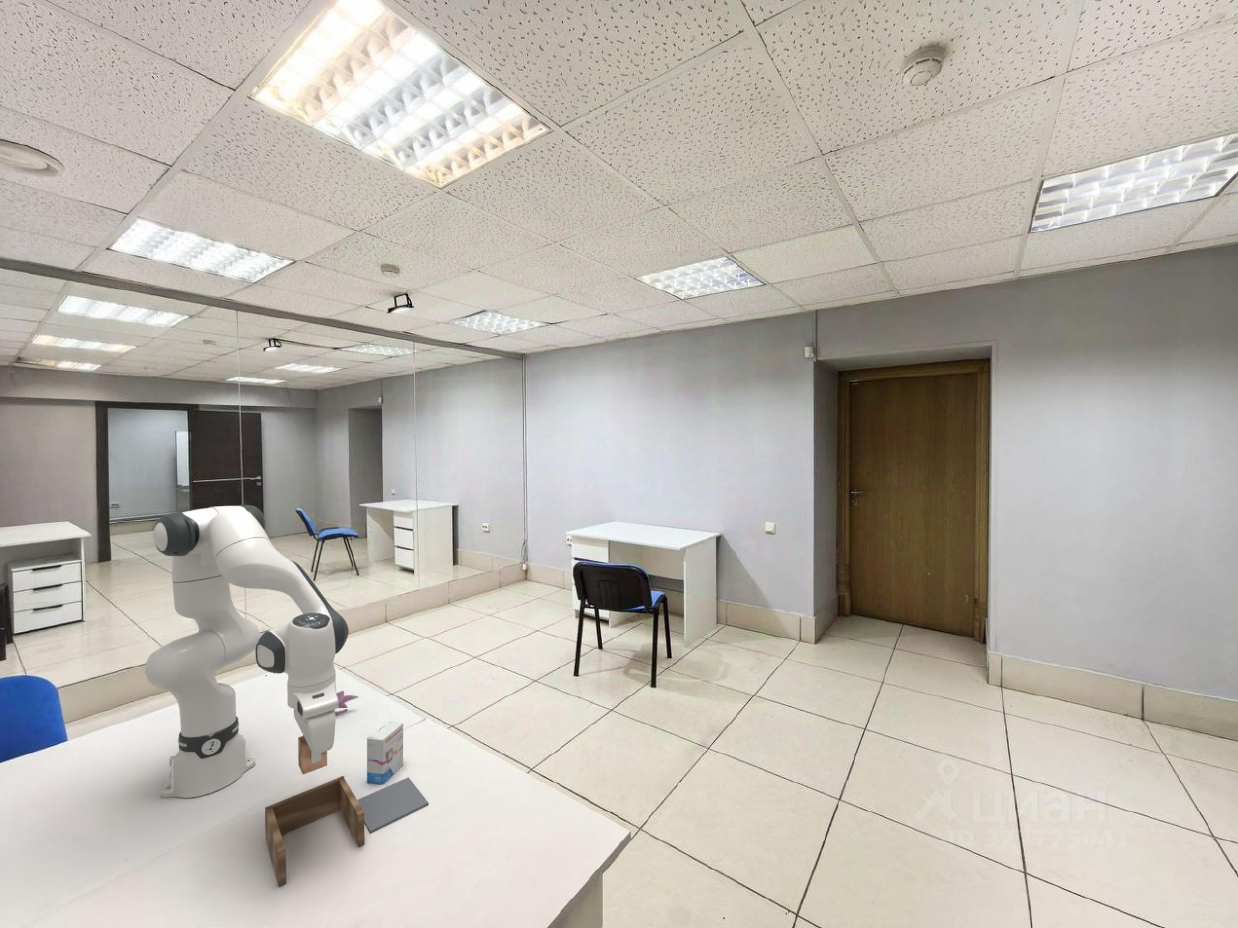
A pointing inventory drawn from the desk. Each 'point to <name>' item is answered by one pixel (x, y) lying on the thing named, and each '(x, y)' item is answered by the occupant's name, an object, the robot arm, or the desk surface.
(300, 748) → the terracotta block
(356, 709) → the desk surface
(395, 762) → the ink box
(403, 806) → the slate mat
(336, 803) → the walnut cubby
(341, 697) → the lily
